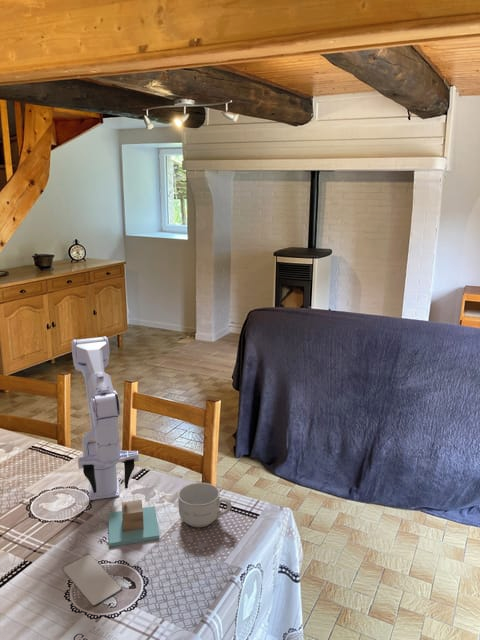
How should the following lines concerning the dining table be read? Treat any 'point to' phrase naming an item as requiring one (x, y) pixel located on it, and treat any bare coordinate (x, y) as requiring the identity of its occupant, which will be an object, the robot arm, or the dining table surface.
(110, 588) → the smartphone
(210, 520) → the teacup
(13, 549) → the dining table surface
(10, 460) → the dining table surface
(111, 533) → the teal square plate
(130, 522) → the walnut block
